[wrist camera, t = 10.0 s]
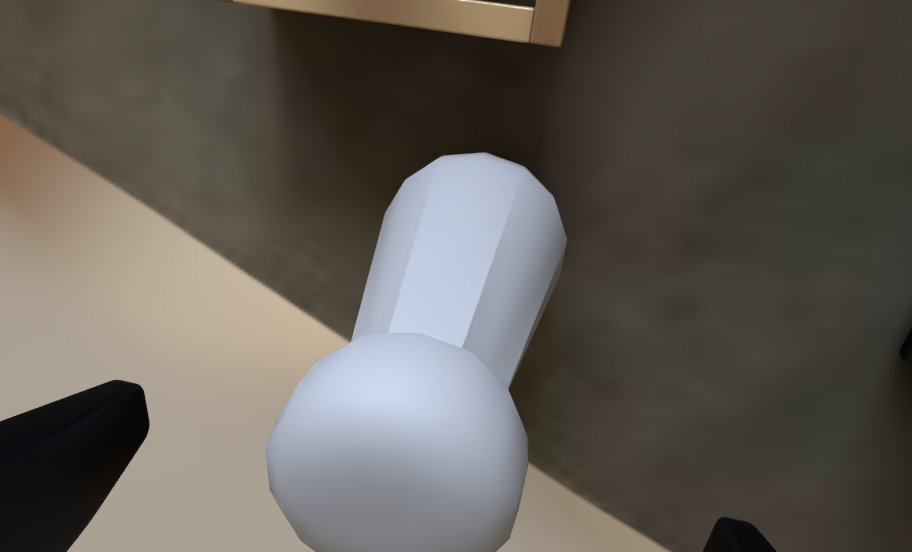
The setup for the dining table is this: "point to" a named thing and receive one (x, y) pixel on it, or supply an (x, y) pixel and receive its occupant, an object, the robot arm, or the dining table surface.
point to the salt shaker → (427, 372)
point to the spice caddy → (446, 16)
